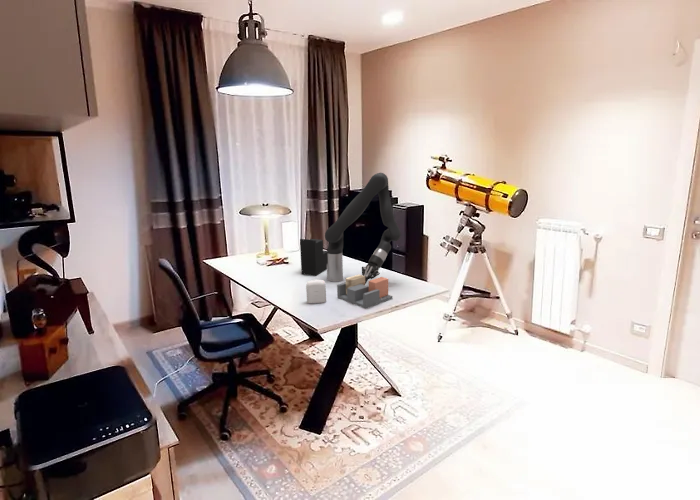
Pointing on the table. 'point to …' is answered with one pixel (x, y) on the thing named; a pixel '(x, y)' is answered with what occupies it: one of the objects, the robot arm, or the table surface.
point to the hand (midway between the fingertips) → (362, 283)
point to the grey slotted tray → (361, 295)
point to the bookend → (312, 257)
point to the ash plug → (354, 281)
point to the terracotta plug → (379, 285)
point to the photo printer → (316, 291)
